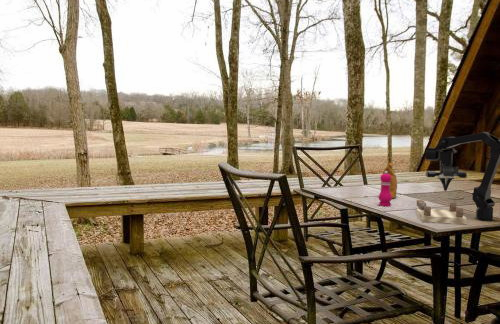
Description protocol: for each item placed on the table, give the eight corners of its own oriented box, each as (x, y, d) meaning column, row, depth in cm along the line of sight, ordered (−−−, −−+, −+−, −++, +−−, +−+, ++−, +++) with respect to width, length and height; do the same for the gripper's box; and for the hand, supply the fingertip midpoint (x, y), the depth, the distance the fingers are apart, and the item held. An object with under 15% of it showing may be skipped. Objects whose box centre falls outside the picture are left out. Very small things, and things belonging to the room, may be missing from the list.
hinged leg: (426, 209, 212) (426, 203, 212) (420, 209, 213) (420, 203, 212) (422, 205, 224) (422, 199, 223) (416, 205, 224) (416, 199, 224)
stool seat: (456, 216, 212) (457, 202, 211) (466, 224, 194) (466, 209, 193) (416, 214, 217) (417, 200, 216) (422, 222, 198) (422, 207, 198)
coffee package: (398, 196, 270) (400, 162, 268) (394, 199, 259) (395, 164, 257) (383, 195, 275) (384, 162, 273) (378, 198, 264) (379, 163, 262)
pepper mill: (388, 204, 244) (390, 170, 242) (393, 206, 237) (394, 171, 235) (376, 204, 244) (377, 170, 242) (380, 206, 236) (382, 171, 235)
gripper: (429, 162, 212) (429, 192, 213) (470, 162, 208) (469, 193, 209) (425, 160, 223) (425, 189, 224) (464, 160, 219) (463, 190, 220)
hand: (445, 190), depth 219 cm, fingers closed
